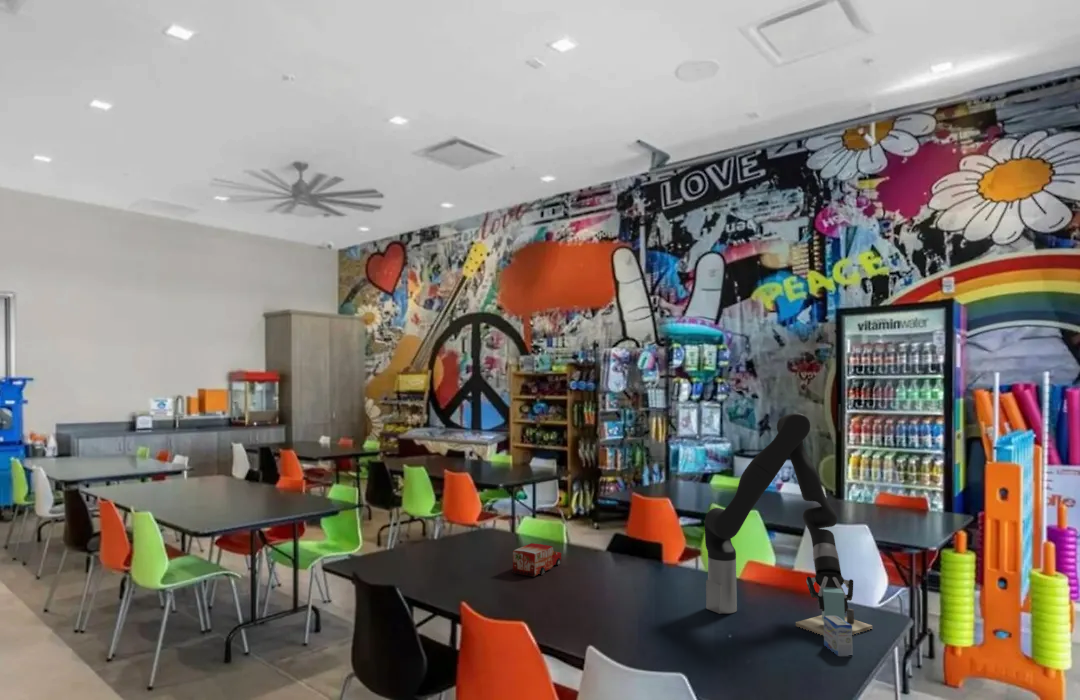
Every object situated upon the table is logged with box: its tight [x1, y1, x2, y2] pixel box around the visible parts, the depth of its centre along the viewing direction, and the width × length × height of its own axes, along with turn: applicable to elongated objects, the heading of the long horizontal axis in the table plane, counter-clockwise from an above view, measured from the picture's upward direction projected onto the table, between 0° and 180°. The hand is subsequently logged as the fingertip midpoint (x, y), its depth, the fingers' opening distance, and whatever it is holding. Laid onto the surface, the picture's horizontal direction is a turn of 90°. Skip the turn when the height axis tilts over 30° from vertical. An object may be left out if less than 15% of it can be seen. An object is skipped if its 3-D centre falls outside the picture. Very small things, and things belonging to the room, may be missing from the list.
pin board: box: [795, 608, 873, 637], centre depth 207 cm, size 18×14×5 cm
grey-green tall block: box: [821, 587, 846, 622], centre depth 204 cm, size 6×6×10 cm
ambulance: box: [511, 542, 562, 577], centre depth 273 cm, size 11×25×10 cm, turn 150°
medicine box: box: [823, 616, 854, 657], centre depth 190 cm, size 8×4×9 cm, turn 5°
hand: (834, 610), depth 203 cm, fingers closed on grey-green tall block, 5 cm apart
